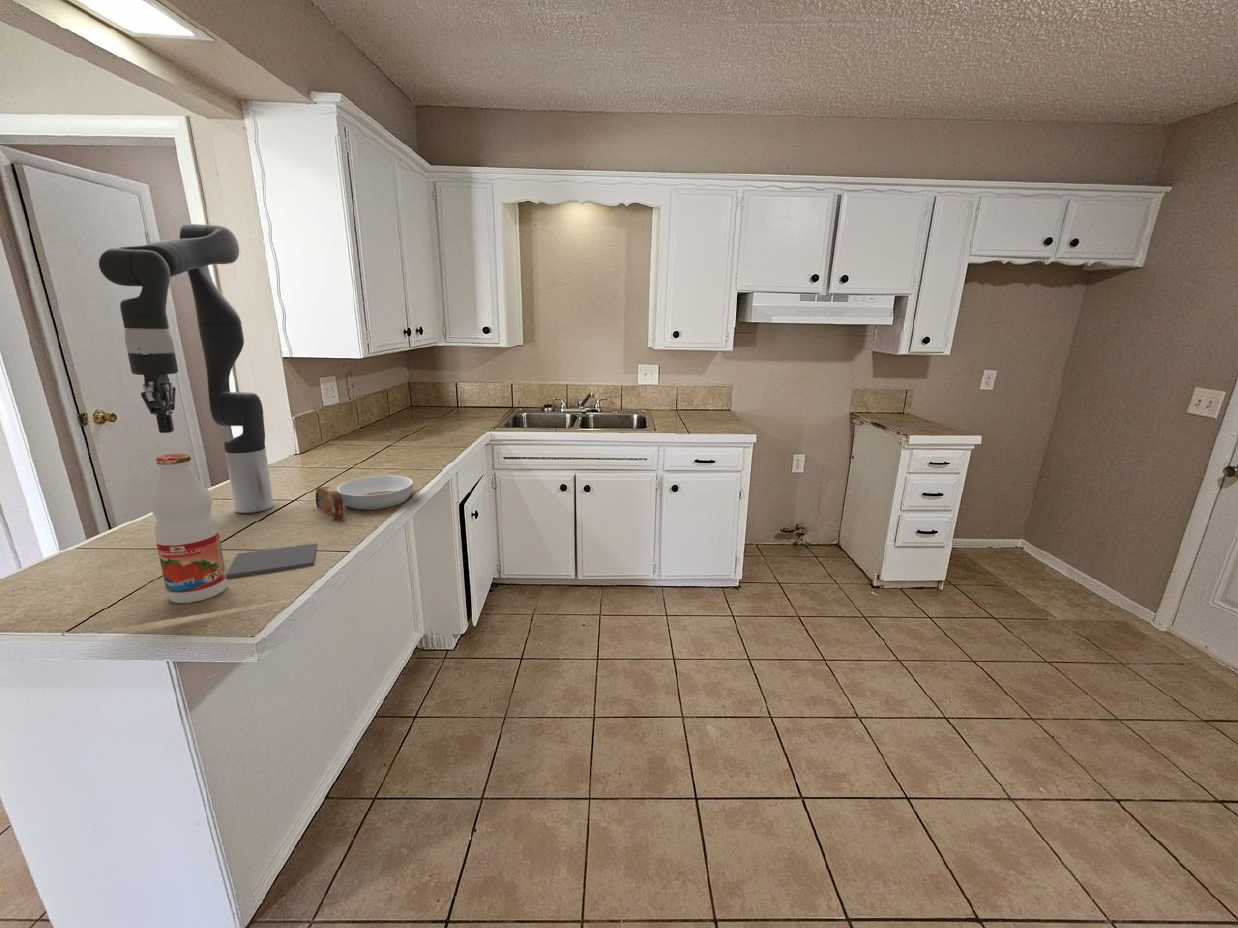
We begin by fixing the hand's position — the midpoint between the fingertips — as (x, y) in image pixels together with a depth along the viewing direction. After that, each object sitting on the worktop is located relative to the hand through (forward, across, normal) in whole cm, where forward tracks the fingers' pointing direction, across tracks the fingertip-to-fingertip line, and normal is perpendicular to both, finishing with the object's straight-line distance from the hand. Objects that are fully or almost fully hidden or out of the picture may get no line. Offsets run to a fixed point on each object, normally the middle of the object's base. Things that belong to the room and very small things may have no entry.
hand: (166, 432), depth 113 cm
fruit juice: (+29, +22, +7) cm, 37 cm away
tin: (+29, -17, +28) cm, 44 cm away
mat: (+29, +11, +18) cm, 36 cm away
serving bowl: (+29, -23, +40) cm, 55 cm away
